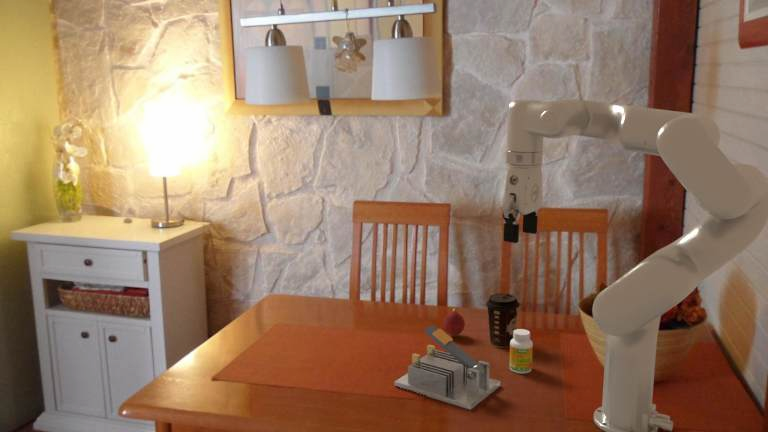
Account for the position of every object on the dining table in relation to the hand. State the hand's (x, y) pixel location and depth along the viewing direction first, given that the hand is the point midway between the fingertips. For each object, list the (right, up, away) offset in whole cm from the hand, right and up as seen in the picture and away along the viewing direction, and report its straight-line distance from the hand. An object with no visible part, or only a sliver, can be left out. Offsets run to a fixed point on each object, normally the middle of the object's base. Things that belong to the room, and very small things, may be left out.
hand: (520, 237), depth 149 cm
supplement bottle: (+4, -33, +19) cm, 38 cm away
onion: (-10, -29, +40) cm, 50 cm away
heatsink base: (-15, -35, +10) cm, 39 cm away
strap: (-14, -27, +8) cm, 31 cm away
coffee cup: (+2, -30, +34) cm, 45 cm away
